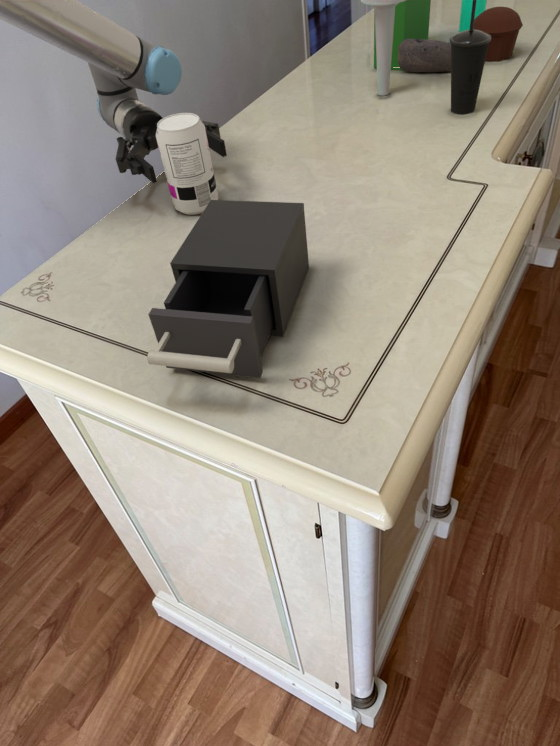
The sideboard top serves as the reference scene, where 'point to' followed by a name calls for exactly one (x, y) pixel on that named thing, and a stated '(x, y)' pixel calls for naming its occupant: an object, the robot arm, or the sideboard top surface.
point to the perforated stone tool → (424, 55)
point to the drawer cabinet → (251, 248)
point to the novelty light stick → (383, 40)
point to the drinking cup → (467, 66)
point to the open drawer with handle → (214, 323)
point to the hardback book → (407, 26)
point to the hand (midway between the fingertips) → (189, 161)
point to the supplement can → (186, 162)
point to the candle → (466, 13)
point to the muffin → (499, 31)
